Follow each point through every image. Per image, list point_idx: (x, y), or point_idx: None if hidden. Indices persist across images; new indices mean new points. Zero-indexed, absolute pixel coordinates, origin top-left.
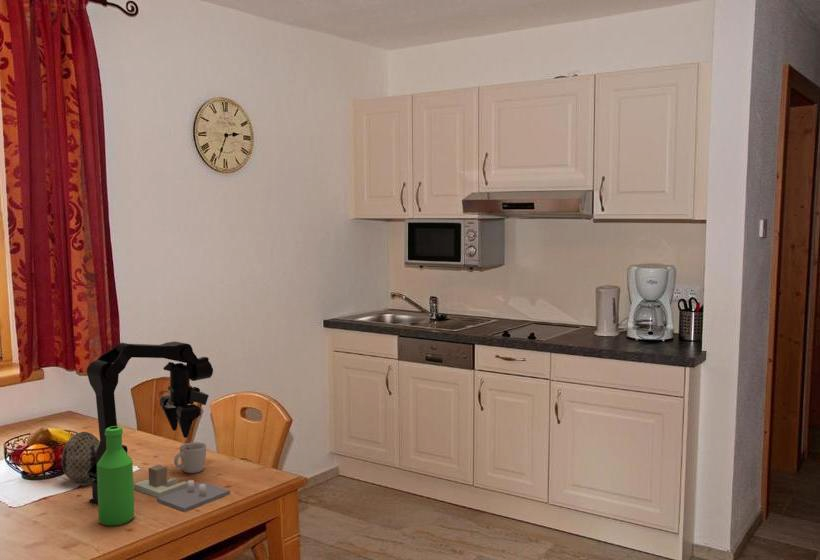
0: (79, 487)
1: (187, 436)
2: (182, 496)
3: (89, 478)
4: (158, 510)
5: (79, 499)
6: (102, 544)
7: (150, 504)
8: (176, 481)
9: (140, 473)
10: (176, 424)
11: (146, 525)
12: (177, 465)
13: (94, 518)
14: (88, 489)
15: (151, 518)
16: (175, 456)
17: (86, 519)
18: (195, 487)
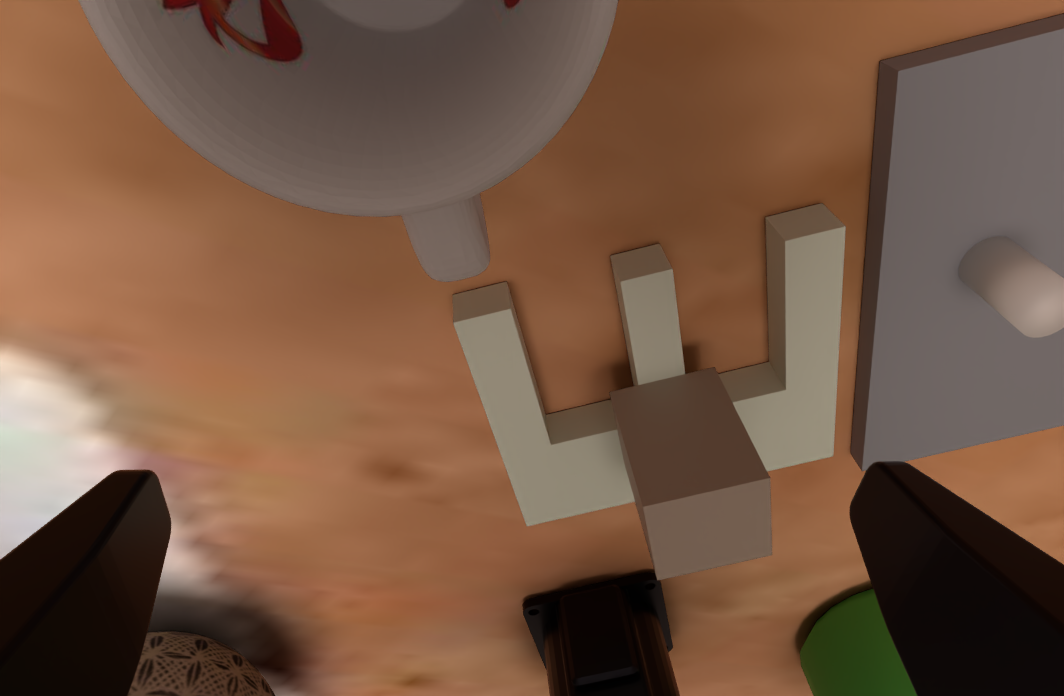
0: (285, 670)
1: (914, 476)
2: (1002, 346)
3: (265, 680)
4: (967, 478)
5: (479, 685)
6: None
7: (849, 486)
8: (665, 260)
9: (181, 383)
10: (87, 599)
11: (1057, 556)
12: (483, 218)
13: (767, 671)
14: (349, 648)
15: (1016, 525)
16: (447, 280)
17: (748, 689)
18: (955, 196)
